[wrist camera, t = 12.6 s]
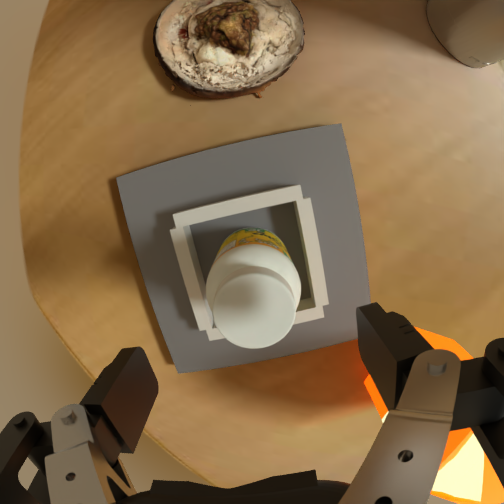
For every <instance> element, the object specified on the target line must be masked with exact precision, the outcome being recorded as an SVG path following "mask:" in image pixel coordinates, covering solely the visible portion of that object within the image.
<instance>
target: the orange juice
mask: <svg viewBox="0 0 504 504" xmlns="http://www.w3.org/2000/svg"><path fill="white" fill-rule="evenodd" d="M415 328H416V331H418V332H419V333H420V334H421V335H422V336H423V337H424V338H425V339H426V340H427V341H428V342H429V344H430V345H431V346H432V347H433V348H434V349H444V350H449V351H451V352H453V353H455V354H456V355H457V356H458V357H459V359H460V360H468V359H474V358H473V357H472V356H471V355H470V354H468V353H467V352H466V351H465V350H464V349H463V348H462V347H461V346H460V345H459V344H458V343H457V342H455V341H454V340H452V339H449V338H446V337H443V336H440V335H437V334H434V333H431V332H428V331H425V330H422V329H419V328H417V327H415ZM364 384H365V386H366V388H367V390H368V392H369V394H370V396H371V398H372V400H373V402H374V404H375V406H376V408H377V410H378V412H379V414H380V416H381V418H382V422H383V423H384V421H385V418H386V416H387V414H388V410H387V408H386V406H385V404H384V402H383V400H382V398H381V396H380V394H379V392H378V390H377V388H376V386H375V384H374V382H373V380H372V378H371V376H370V374H369V375H368V377H367V378H366V380H365V381H364ZM430 494H432V495H435V496H438V497H440V498H443V499H447V500H449V501H452V502H455V503H458V504H500V503H502V502H504V488H503V486H502V484H501V482H500V480H499V478H498V476H497V475H496V473H495V471H494V469H493V467H492V465H491V463H490V462H489V460H488V458H487V456H486V454H485V453H484V451H483V449H482V447H481V445H480V444H479V442H478V440H477V439H476V437H475V435H474V433H473V432H472V430H471V428H466V429H460V430H455V431H450V432H449V436H448V440H447V444H446V447H445V451H444V454H443V458H442V461H441V464H440V467H439V471H438V474H437V477H436V480H435V482H434V485H433V488H432V491H431V493H430Z"/></svg>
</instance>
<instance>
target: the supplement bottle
mask: <svg viewBox="0 0 504 504" xmlns="http://www.w3.org/2000/svg"><path fill="white" fill-rule="evenodd" d="M300 296H301V283H300V278H299V275H298V272H297V270H296V268H295V266H294V264H293V262H292V260H291V258H290V256H289V254H288V252H287V249H286V247H285V246H284V244H283V242H282V241H281V240H280V239H279V238H278V237H277V236H276V235H275V234H274V233H272V232H270V231H268V230H266V229H262V228H253V227H250V228H243V229H239V230H237V231H235V232H233V233H232V234H231V235H229V236H228V237H227V238H226V239H225V241H224V242H223V244H222V245H221V247H220V249H219V251H218V253H217V256H216V258H215V261H214V263H213V265H212V267H211V270H210V272H209V275H208V278H207V283H206V297H207V301H208V305H209V307H210V309H211V311H212V315H213V319H214V323H215V325H216V327H217V329H218V330H219V332H220V333H221V334H222V335H223V336H224V337H225V338H226V339H227V340H228V341H230V342H231V343H233V344H235V345H237V346H240V347H244V348H250V349H256V348H264V347H268V346H271V345H273V344H275V343H277V342H278V341H280V340H281V339H282V338H284V337H285V336H286V335H287V333H288V332H289V331H290V329H291V328H292V325H293V323H294V320H295V316H296V309H297V307H298V304H299V301H300Z"/></svg>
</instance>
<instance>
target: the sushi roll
mask: <svg viewBox="0 0 504 504" xmlns="http://www.w3.org/2000/svg"><path fill="white" fill-rule="evenodd" d="M303 24H304V23H303V20H302V17H301V14H300V11H299V10H298V9H297V7H296V6H295V5H294V4H293V3H292V1H291V0H173V1H172V2H171V3H170V4H169V5H168V6H167V7H166V8H165V9H164V10H163V11H162V12H161V14H160V16H159V18H158V20H157V22H156V25H155V28H154V32H153V44H154V48H155V56H156V57H158V59H159V65H161V66H162V67H163V69H164V70H165V72H166V75H167V76H168V77H169V78H170V79H171V80H173V81H174V82H175V83H176V84H177V85H178V86H179V87H180V88H181V89H183V90H185V91H187V92H189V93H191V94H193V95H196V96H199V97H206V98H231V97H238V96H243V95H247V94H251V93H258V97H260V98H262V96H261V95H260V93H259V92H261V91H264V90H265V87H267V86H269V85H270V84H271V82H273V81H277V79H278V77H280V76H282V75H283V74H284V73H286V72H287V70H288V69H289V68H290V66H291V65H292V64H293V62H294V61H295V60H296V59H297V56H296V55H298V54H299V53H301V52H302V50H303V46H304V35H305V33H304V32H305V31H304V29H303ZM171 88H172V89H171V91H173V90H174V89H175V86H174V85H172V87H171ZM190 106H191V105H190Z"/></svg>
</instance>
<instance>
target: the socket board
mask: <svg viewBox="0 0 504 504" xmlns="http://www.w3.org/2000/svg"><path fill="white" fill-rule="evenodd" d="M116 179H117V184H118V188H119V193H120V197H121V201H122V205H123V209H124V213H125V217H126V221H127V225H128V228H129V232H130V236H131V239H132V243H133V246H134V250H135V253H136V256H137V260H138V263H139V266H140V270H141V273H142V276H143V279H144V282H145V285H146V288H147V291H148V294H149V297H150V300H151V303H152V306H153V309H154V312H155V315H156V317H157V320H158V323H159V326H160V328H161V331H162V334H163V336H164V339H165V342H166V344H167V347H168V349H169V352H170V354H171V357H172V359H173V362H174V364H175V367H176V369H177V371H178V373H187V372H195V371H202V370H210V369H217V368H223V367H230V366H236V365H242V364H247V363H253V362H258V361H264V360H269V359H274V358H279V357H284V356H289V355H293V354H298V353H302V352H307V351H311V350H315V349H320V348H324V347H328V346H332V345H336V344H339V343H343V342H347V341H351V340H354V339H358V332H357V320H356V308H357V307H360V306H364V305H367V304H371V301H370V290H369V280H368V270H367V262H366V254H365V246H364V239H363V232H362V225H361V219H360V212H359V206H358V201H357V195H356V189H355V184H354V179H353V174H352V169H351V164H350V159H349V155H348V150H347V146H346V141H345V137H344V133H343V129H342V125H341V124H334V125H327V126H320V127H314V128H308V129H302V130H296V131H291V132H285V133H280V134H275V135H270V136H265V137H260V138H256V139H251V140H246V141H242V142H238V143H233V144H229V145H225V146H221V147H217V148H213V149H209V150H205V151H201V152H198V153H194V154H190V155H187V156H183V157H180V158H176V159H173V160H169V161H166V162H163V163H159V164H156V165H153V166H150V167H147V168H144V169H140V170H137V171H134V172H131V173H128V174H125V175H123V176H120V177H117V178H116ZM250 227H253V228H262V229H266V230H268V231H270V232H272V233H274V234H275V235H276V236H277V237H278V238H279V239H280V240H281V241H282V242H283V244H284V246H285V247H286V249H287V252H288V254H289V256H290V258H291V260H292V262H293V264H294V266H295V268H296V270H297V272H298V275H299V278H300V283H301V296H300V301H299V304H298V307H297V309H296V316H295V320H294V323H293V325H292V328H291V329H290V331H289V332H288V333H287V335H286V336H285V337H284V338H282V339H281V340H280V341H278V342H277V343H275V344H273V345H271V346H268V347H264V348H256V349H250V348H244V347H240V346H237V345H235V344H233V343H231V342H230V341H228V340H227V339H226V338H225V337H224V336H223V335H222V334H221V333H220V332H219V330H218V329H217V327H216V325H215V323H214V319H213V315H212V311H211V309H210V307H209V305H208V301H207V297H206V283H207V278H208V275H209V272H210V270H211V267H212V265H213V263H214V261H215V258H216V256H217V253H218V251H219V249H220V247H221V245H222V244H223V242H224V241H225V239H226V238H227V237H228V236H229V235H231V234H232V233H233V232H235V231H237V230H239V229H243V228H250Z"/></svg>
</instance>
